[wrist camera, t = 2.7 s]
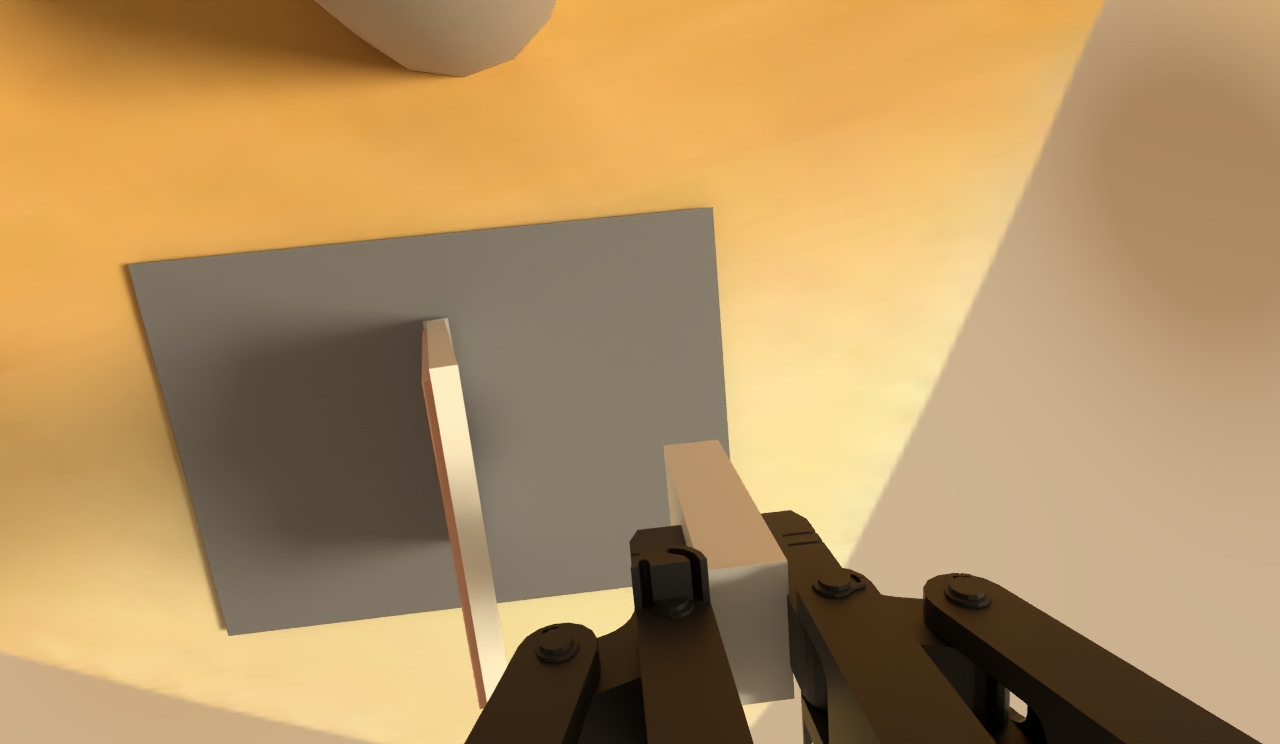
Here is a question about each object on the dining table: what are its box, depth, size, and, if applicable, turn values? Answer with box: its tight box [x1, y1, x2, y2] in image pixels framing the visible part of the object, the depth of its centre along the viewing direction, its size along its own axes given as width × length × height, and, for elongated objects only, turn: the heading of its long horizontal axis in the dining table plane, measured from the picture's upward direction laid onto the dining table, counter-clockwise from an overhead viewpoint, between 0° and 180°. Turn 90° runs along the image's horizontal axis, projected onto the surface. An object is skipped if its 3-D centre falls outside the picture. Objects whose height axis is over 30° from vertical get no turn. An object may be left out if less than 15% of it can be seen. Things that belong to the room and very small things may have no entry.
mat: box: [128, 207, 730, 636], centre depth 25 cm, size 15×21×1 cm
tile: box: [422, 317, 507, 709], centre depth 19 cm, size 10×9×1 cm
